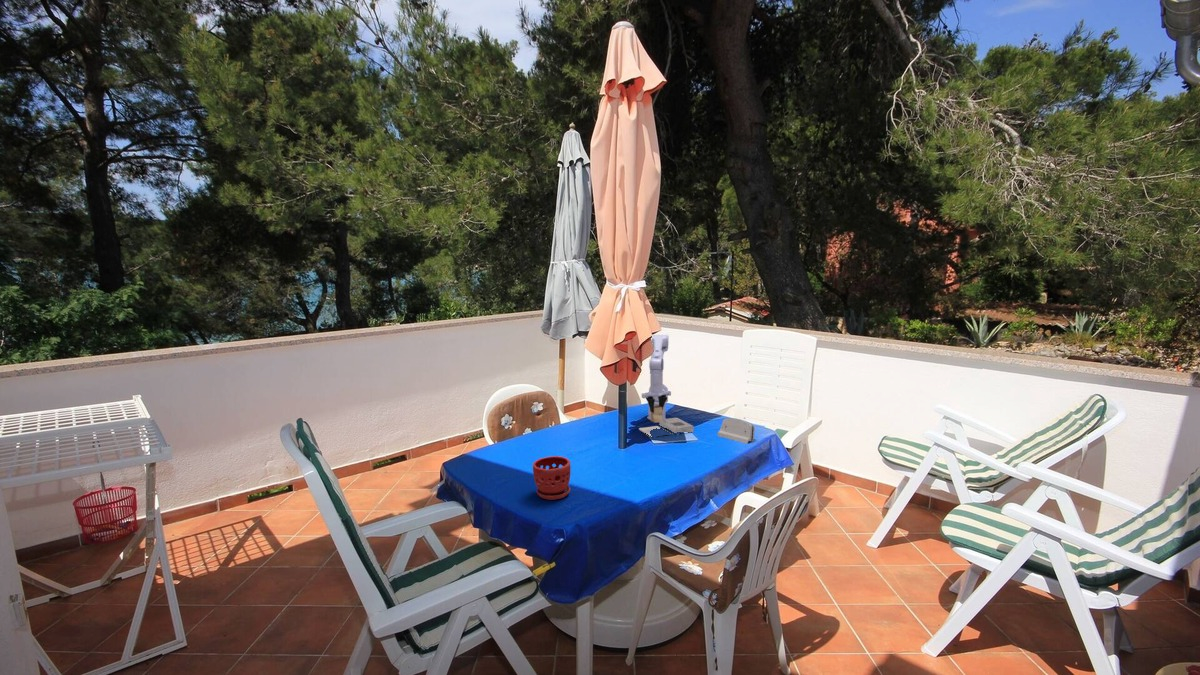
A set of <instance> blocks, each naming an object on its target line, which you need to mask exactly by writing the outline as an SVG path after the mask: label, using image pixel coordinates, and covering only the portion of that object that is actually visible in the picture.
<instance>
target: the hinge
mask: <svg viewBox="0 0 1200 675" xmlns="http://www.w3.org/2000/svg"><path fill="white" fill-rule="evenodd" d="M755 430H756V428H755V426H754V425H753V424H752V423H750V422H749V421H747V420H744V419H741V418H734V417H729V418H724V419H723V420H722V423H721V426H720V429H719V430H718V431H717V437H721V438H724V439H728V440H732V441H735V442H738V441H739V443H742V442H743V443H742V444H746V445H748V444H749V442H752V443H754V440H755Z"/></svg>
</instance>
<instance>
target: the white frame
mask: <svg viewBox="0 0 1200 675" xmlns="http://www.w3.org/2000/svg"><path fill="white" fill-rule="evenodd" d="M658 423H659V424H658V425H660V426H659V427H661V426H662V427H664V428H667V429H669V430H671V431H672V432H674V433H677V432H692V433H694V425H692V424H691V423H688V422H686V421H684V420H683V419H680V418H679V417H670V418H666V419H662V422H658ZM662 427H661V428H662ZM664 428H663V429H664Z"/></svg>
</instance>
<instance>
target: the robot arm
mask: <svg viewBox="0 0 1200 675" xmlns="http://www.w3.org/2000/svg"><path fill="white" fill-rule="evenodd" d="M652 335H653V336H652V343H653V347H654V352H653V354H652V355H651V354H650V359H649V363H648V364H649V366H648V367H649V374H650V376H649V377H650V379H649V380H650V384H649V385H650V386H649V388H648V392H644V393H641V398H642V399H645V400H646V401H647V403H648V416H647V417H646V418H647V419H648V420H649V421H651V412H652V413H654V406H657V405H659V406H661V407H662V419H667V418H666V403H668V401H669V396H671V397H672V391H671V390H669V388H668V386H666V385H665V384H663V381H664V377H663V376H664V375H663V374H664V373H663V372H664V368H665V367H664V366H665V365H664V364H665V361H664V354H665V353H666V352H668V349H669V335H668V334H652Z"/></svg>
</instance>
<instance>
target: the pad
mask: <svg viewBox="0 0 1200 675" xmlns="http://www.w3.org/2000/svg"><path fill="white" fill-rule="evenodd" d="M656 428H657V429H660V428H661V426H658V425H655V426H653V425H652V426H647V427H640V428H638V430H639V431H640V432H642V433H644V434H645V433H646V434H645V435H647V434H648V435H649V436H648V435H647V436H648V437H650V436H651V434H650V431H651V430H653V429H656ZM651 437H652V436H651ZM651 437H650V438H651Z"/></svg>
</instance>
